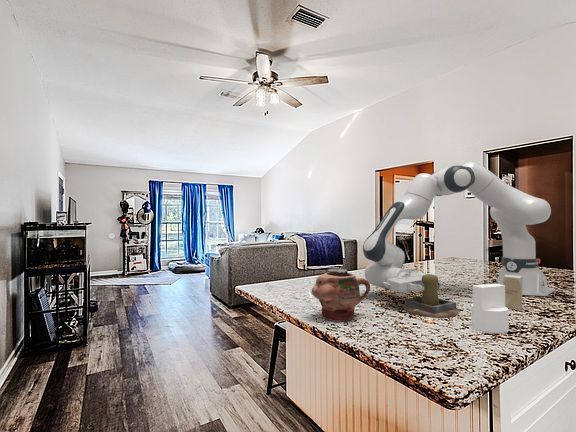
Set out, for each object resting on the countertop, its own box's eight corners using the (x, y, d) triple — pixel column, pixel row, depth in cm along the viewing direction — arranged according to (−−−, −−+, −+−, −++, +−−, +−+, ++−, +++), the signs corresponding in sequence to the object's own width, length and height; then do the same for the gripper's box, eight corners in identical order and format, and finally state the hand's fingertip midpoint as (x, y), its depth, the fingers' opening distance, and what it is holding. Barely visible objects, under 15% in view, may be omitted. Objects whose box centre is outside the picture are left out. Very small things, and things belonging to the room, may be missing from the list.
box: (502, 308, 111) (502, 275, 111) (504, 305, 114) (504, 274, 114) (521, 310, 107) (520, 277, 107) (523, 308, 110) (522, 275, 110)
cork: (442, 309, 106) (442, 276, 106) (423, 309, 107) (422, 276, 107) (437, 304, 112) (436, 273, 112) (418, 304, 113) (418, 273, 113)
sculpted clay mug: (358, 308, 112) (358, 268, 112) (379, 318, 101) (379, 274, 101) (305, 314, 106) (305, 272, 106) (322, 326, 94) (321, 278, 94)
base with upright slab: (491, 335, 86) (490, 290, 86) (463, 324, 94) (463, 283, 94) (516, 331, 88) (516, 287, 88) (487, 321, 97) (487, 281, 97)
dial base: (425, 301, 121) (425, 293, 121) (469, 312, 106) (469, 303, 106) (393, 307, 112) (393, 299, 112) (436, 321, 98) (436, 311, 98)
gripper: (379, 274, 115) (410, 280, 103) (417, 269, 125) (450, 274, 113) (379, 292, 115) (411, 300, 103) (417, 285, 125) (450, 292, 113)
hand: (432, 286), depth 108 cm, fingers open, 8 cm apart
